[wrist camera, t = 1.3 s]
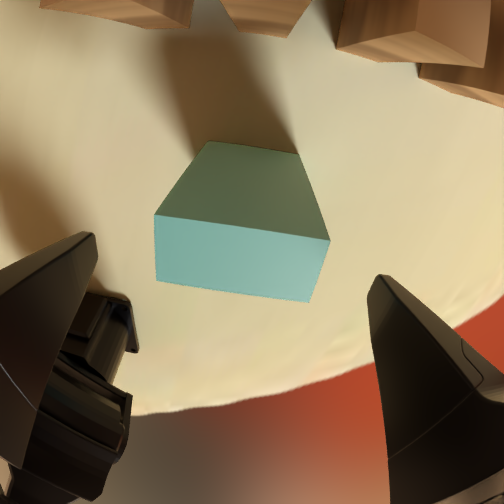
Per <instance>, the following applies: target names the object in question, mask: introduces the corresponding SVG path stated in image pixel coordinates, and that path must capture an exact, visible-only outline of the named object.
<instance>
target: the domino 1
mask: <svg viewBox="0 0 504 504" xmlns="http://www.w3.org/2000/svg"><path fill="white" fill-rule="evenodd" d="M193 3H194V0H41V2H40V7H39V8H42V9H52V10H60V11H67V12H73V13H79V14H85V15H90V16H96V17H101V18H105V19H110V20H114V21H118V22H122V23H126V24H130V25H134V26H138V27H141V28H145V29H157V28H189V26H190V20H191V14H192V8H193Z"/></svg>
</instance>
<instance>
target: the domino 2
mask: <svg viewBox="0 0 504 504" xmlns="http://www.w3.org/2000/svg"><path fill="white" fill-rule="evenodd" d="M220 1H221V3H222V5H223V6H224V8H225V9H226V11H227V13H228V14H229V16H230V17H231V19H232V21H233V22H234V24H235V26H236V27H237V29H238V31H239V32H248V33H256V34H264V35H270V36H277V37H282V38H287V36H288V35H289V33H290V32H291V30H292V29H293V27H294V26H295V24H296V23H297V21H298V20H299V18H300V17H301V15H302V14H303V12H304V11H305V9H306V8H307V6H308V5H309V4H310V2H311V1H312V0H220Z"/></svg>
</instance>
